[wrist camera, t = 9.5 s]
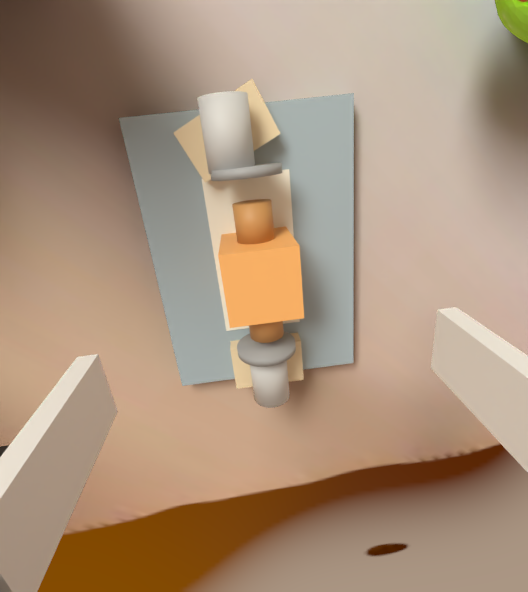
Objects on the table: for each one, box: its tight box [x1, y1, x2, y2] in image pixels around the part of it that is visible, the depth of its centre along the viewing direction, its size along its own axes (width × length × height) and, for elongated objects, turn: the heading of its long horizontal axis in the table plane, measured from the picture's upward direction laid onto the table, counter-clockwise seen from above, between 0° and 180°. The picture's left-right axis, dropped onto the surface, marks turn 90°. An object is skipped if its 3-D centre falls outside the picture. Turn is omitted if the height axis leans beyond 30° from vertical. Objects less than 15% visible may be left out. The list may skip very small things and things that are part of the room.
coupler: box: [218, 199, 304, 343], centre depth 24 cm, size 5×10×6 cm, turn 6°
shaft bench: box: [119, 79, 354, 408], centre depth 25 cm, size 16×23×7 cm
